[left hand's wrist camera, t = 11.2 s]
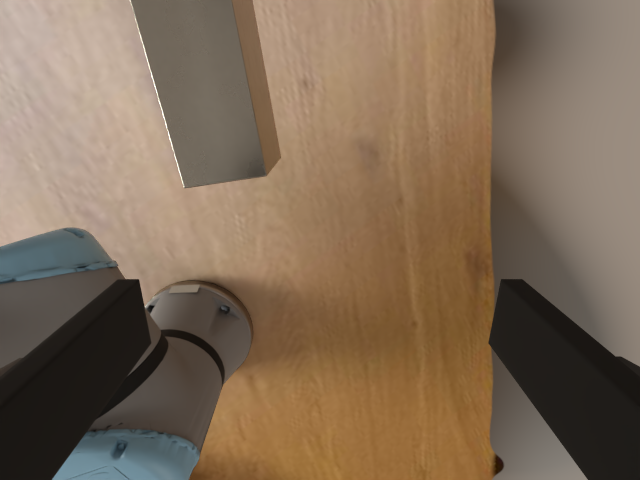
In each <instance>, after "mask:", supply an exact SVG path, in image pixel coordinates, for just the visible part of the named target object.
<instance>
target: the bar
mask: <svg viewBox="0 0 640 480" xmlns="http://www.w3.org/2000/svg"><path fill="white" fill-rule="evenodd" d="M130 2H131V5H132V9H133V12H134V16H135V19H136V23H137V26H138V30H139V33H140V37H141V40H142V44H143V47H144V51H145V54H146V58H147V61H148V65H149V68H150V72H151V75H152V78H153V82H154V85H155V89H156V92H157V96H158V99H159V103H160V106H161V110H162V113H163V117H164V120H165V124H166V127H167V131H168V134H169V138H170V141H171V145H172V148H173V152H174V155H175V159H176V162H177V165H178V169H179V172H180V176H181V179H182V183H183V186H184V188H190V187H197V186H204V185H210V184H217V183H224V182H231V181H237V180H244V179H251V178H258V177H264V176H267V175H268V174H269V172H270V171H271V170H272V168H273V167H274V166H275V165H276V163H277V162H278V161H279V159H280V158H281V154H280V149H279V143H278V138H277V132H276V127H275V121H274V116H273V110H272V105H271V99H270V94H269V88H268V83H267V77H266V72H265V66H264V61H263V55H262V50H261V44H260V39H259V33H258V28H257V22H256V17H255V11H254V6H253V0H130Z"/></svg>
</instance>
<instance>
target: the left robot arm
mask: <svg viewBox="0 0 640 480" xmlns="http://www.w3.org/2000/svg"><path fill="white" fill-rule="evenodd" d="M117 266H118V264H117V262H116V261H113V260H112V259H111V258H110V257H109V255H108V254H107V253H106V252H105V250H104V249H103V248H102V247H101V245H100V244H99V243H98V242H97V240H96V239H95V238H94V236H93V235H92V234H90V233H89V232H87V231H85V230H83V229H79V228H63V229H59V230H55V231H51V232H47V233H44V234H40V235H37V236H34V237H30V238H27V239H24V240H20V241H17V242H14V243H11V244H8V245H4V246H1V247H0V480H189V477H190V475H191V473H192V470H193V468H194V467H195V466H196V464H197V462H198V461H199V457H200V452H201V449H202V446H203V443H204V440H205V437H206V434H207V431H208V428H209V425H210V422H211V419H212V416H213V413H214V410H215V407H216V404H217V401H218V398H219V395H220V392H221V389H222V386H223V384H224V383H225V382H226V381H227V380H228V379H229V378H230V376H231V375H232V374H233V373H234V372H235V371H236V370H237V369H238V368H239V367H240V366H241V364H242V363H243V362H244V360H245V359H246V357H247V355H248V353H249V350H250V346H251V343H252V339H253V326H252V321H251V318H250V316H249V313H248V311H247V310H246V308H245V307H244V305H243V304H242V303H241V302H240V301H239V300H238V299H237V298H236V297H235V296H234V295H233V294H231V293H230V292H228V291H227V290H225V289H223V288H221V287H219V286H217V285H214V284H211V283H207V282H202V281H182V282H178V283H174V284H171V285H169V286H167V287H165V288H163V289H162V290H160V291H159V292H158V293H157V294H156V295H155V296H154V297H153V298H152V299H151V300H150V301H149V302H148V303H147V305H146V306H145V307H144V303H143V298H142V293H141V288H140V283H139V279H125V278H124V276H123V275H122V273H121V272H120V270H119V269H118V267H117ZM489 344H490V346H491V347H492V349H493V350H494V351H495V353H496V354H497V355H498V357H499V358H500V359H501V361H502V362H503V364H504V365H505V366H506V368H507V369H508V370H509V372H510V373H511V375H512V376H513V377H514V379H515V380H516V382H517V383H518V384H519V386H520V387H521V388H522V390H523V391H524V393H525V394H526V395H527V397H528V398H529V399H530V401H531V402H532V403H533V405H534V406H535V408H536V409H537V410H538V412H539V413H540V414H541V416H542V417H543V419H544V420H545V421H546V423H547V424H548V425H549V427H550V428H551V430H552V431H553V432H554V434H555V435H556V436H557V438H558V439H559V441H560V442H561V443H562V445H563V446H564V447H565V449H566V450H567V452H568V453H569V454H570V456H571V457H572V458H573V460H574V461H575V463H576V464H577V465H578V467H579V468H580V469H581V471H582V472H583V473H584V475H585V476H586V478H587V479H588V480H640V367H639V366H637V365H635V364H633V363H632V362H630V361H628V360H626V359H624V358H623V357H615V356H614V355H613V354H612V353H611V352H609V351H608V350H607V349H606V348H605V347H603V346H602V345H601V344H600V343H598V342H597V341H596V340H595V339H594V338H592V337H591V336H590V335H589V334H588V333H586V332H585V331H584V330H583V329H582V328H580V327H579V326H578V325H577V324H576V323H574V322H573V321H572V320H571V319H570V318H568V317H567V316H566V315H565V314H563V313H562V312H561V311H560V310H559V309H557V308H556V307H555V306H554V305H553V304H551V303H550V302H549V301H548V300H547V299H545V298H544V297H543V296H542V295H541V294H539V293H538V292H537V291H536V290H535V289H533V288H532V287H531V286H530V285H528V284H527V283H526V282H525V281H524V280H522V279H501V283H500V288H499V293H498V298H497V303H496V308H495V313H494V318H493V323H492V328H491V333H490V338H489Z"/></svg>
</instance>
